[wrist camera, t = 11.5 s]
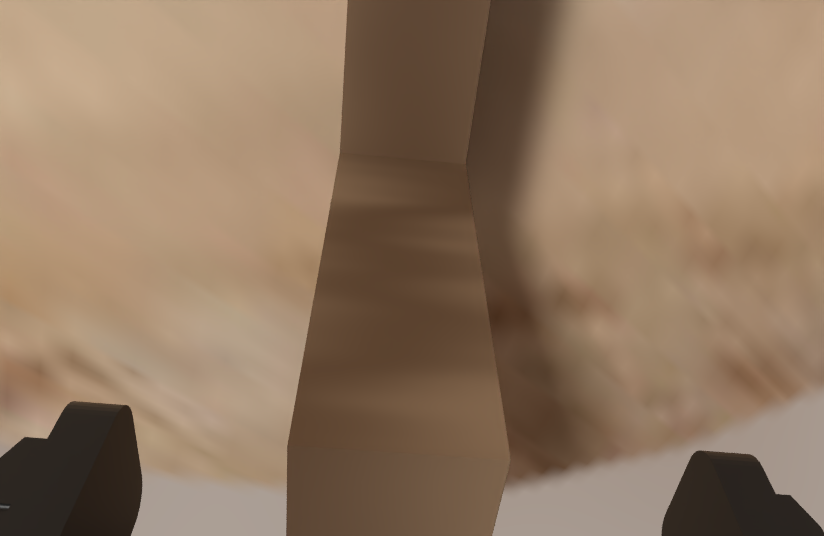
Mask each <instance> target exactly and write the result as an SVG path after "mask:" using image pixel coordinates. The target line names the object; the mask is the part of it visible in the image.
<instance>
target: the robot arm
mask: <svg viewBox="0 0 824 536" xmlns="http://www.w3.org/2000/svg"><path fill="white" fill-rule="evenodd" d="M141 494H142V474H141V467H140V461H139V454H138V448H137V441H136V435H135V428H134V422H133V415H132V411H131V409H130V407H129V406H127V405H116V404H103V403H90V402H76V401H73V402H70V403H69V404H68V405H67V406H66V407H65V409H64V410H63V412H62V413H61V415H60V417H59V419H58V421H57V422H56V424H55V426H54V428H53V430H52V431H51V433H50V435H49V437H48V439H43V438H29V437H24V438H23V439H22V440H21V441H20V442H18V443H17V444H16V445H15V446H14V447H12V448H11V449H10V450H9V451H8V452H7V453H5V454H4V455H3V456H2V457H1V458H0V536H131V533H132V531H133V528H134V525H135V522H136V519H137V516H138V512H139V508H140V502H141ZM662 536H824V532H823V530H822V528H821V527H820V526H819V525H818V524H817V523H816V522H815V520H814V519H813V518H811V516H810V515H809V514H808V513H807V512H806V511H805V510H804V509H803V508H802V507H801V506H800V505H799V504H798V503H797V502H796V501H795V500H794V499H793V498H792V497H791V496H790V495H780V494H775V492H774V490H773V488H772V486H771V484H770V482H769V480H768V478H767V476H766V473H765V471H764V469H763V468H762V466H761V464H760V462H759V461H758V460H757V459H756V458H755V457H754V456H752V455H750V454H738V453H724V452H710V451H696V452H695V453H694V454H693V455H692V457H691V459H690V461H689V463H688V465H687V467H686V469H685V472H684V474H683V476H682V478H681V481H680V483H679V485H678V487H677V490H676V492H675V494H674V496H673V499H672V501H671V503H670V505H669V508H668V510H667V512H666V514H665V517H664V521H663V526H662Z"/></svg>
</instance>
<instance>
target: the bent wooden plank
mask: <svg viewBox="0 0 824 536" xmlns="http://www.w3.org/2000/svg"><path fill="white" fill-rule="evenodd" d="M490 3H491V0H348V7H347V26H346V46H345V65H344V85H343V104H342V124H341V143H340V156H339V161H338V167H337V172H336V178H335V183H334V189H333V195H332V200H331V206H330V211H329V217H328V222H327V228H326V234H325V239H324V245H323V250H322V256H321V261H320V267H319V273H318V278H317V284H316V289H315V295H314V300H313V306H312V312H311V317H310V323H309V328H308V334H307V340H306V345H305V351H304V356H303V362H302V367H301V373H300V379H299V384H298V390H297V395H296V401H295V406H294V412H293V418H292V423H291V429H290V434H289V440H288V445H287V528H286V529H287V530H286V533H287V534H286V536H492V533H493V530H494V526H495V521H496V517H497V514H498V510H499V506H500V502H501V498H502V494H503V490H504V486H505V482H506V478H507V474H508V470H509V466H510V462H511V458H510V451H509V445H508V438H507V432H506V425H505V418H504V412H503V405H502V399H501V392H500V386H499V379H498V372H497V366H496V359H495V353H494V346H493V340H492V333H491V327H490V320H489V313H488V307H487V300H486V294H485V287H484V281H483V274H482V267H481V261H480V254H479V248H478V241H477V235H476V228H475V221H474V215H473V208H472V202H471V195H470V189H469V182H468V175H467V169H466V159H467V153H468V146H469V140H470V133H471V127H472V120H473V114H474V107H475V101H476V94H477V88H478V81H479V75H480V68H481V62H482V55H483V49H484V42H485V36H486V29H487V23H488V16H489V10H490Z"/></svg>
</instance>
